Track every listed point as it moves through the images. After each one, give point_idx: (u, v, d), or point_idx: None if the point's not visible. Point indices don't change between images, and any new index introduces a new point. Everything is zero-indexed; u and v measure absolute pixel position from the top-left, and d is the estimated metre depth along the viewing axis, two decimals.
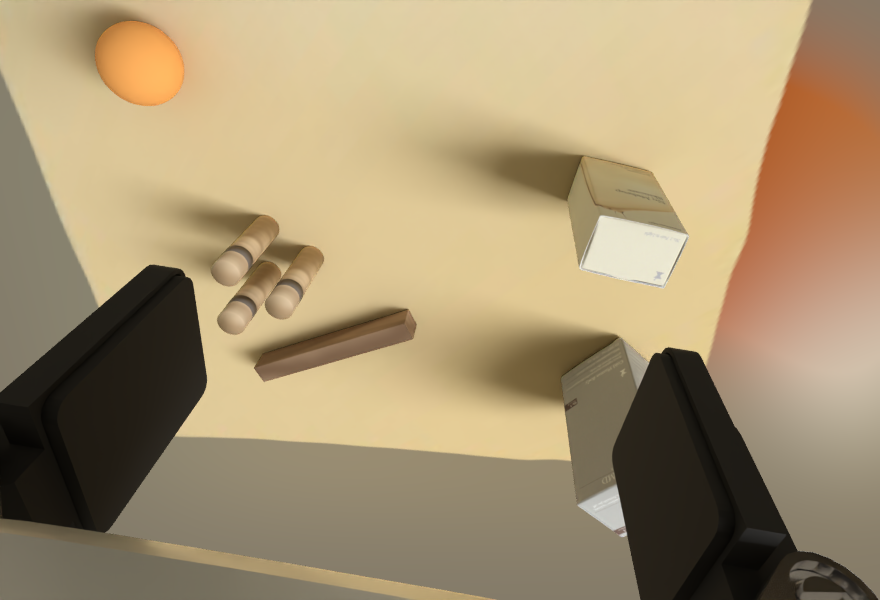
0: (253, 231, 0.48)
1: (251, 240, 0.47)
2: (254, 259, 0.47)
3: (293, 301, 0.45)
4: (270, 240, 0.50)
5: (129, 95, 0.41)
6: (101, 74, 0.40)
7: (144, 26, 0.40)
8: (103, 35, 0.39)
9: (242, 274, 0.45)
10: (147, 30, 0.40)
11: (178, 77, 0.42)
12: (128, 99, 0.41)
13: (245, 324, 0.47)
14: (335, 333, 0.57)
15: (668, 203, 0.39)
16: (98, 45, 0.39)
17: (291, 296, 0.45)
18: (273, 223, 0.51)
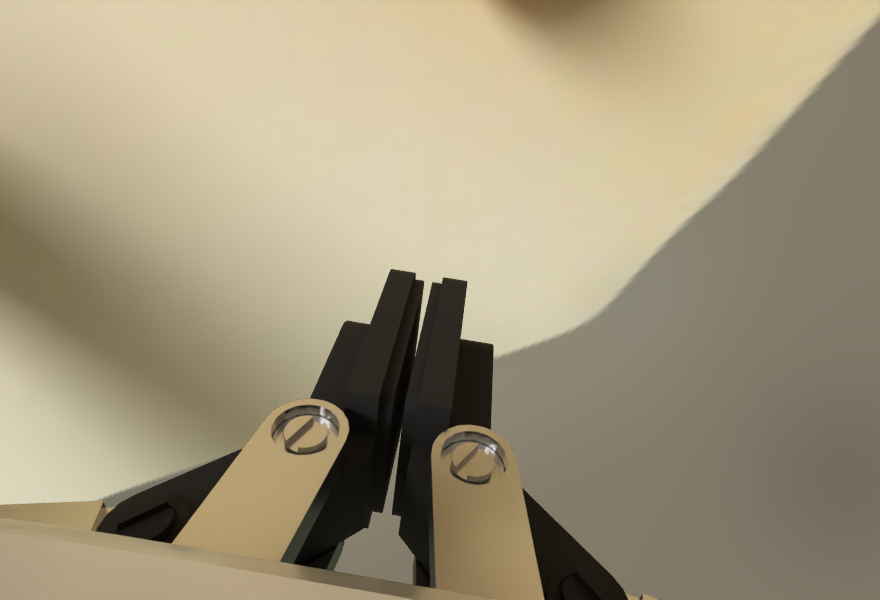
0: None
1: None
2: None
3: None
4: None
5: None
6: None
7: None
8: None
9: None
10: None
11: None
12: None
13: None
14: None
15: None
16: None
17: None
18: None
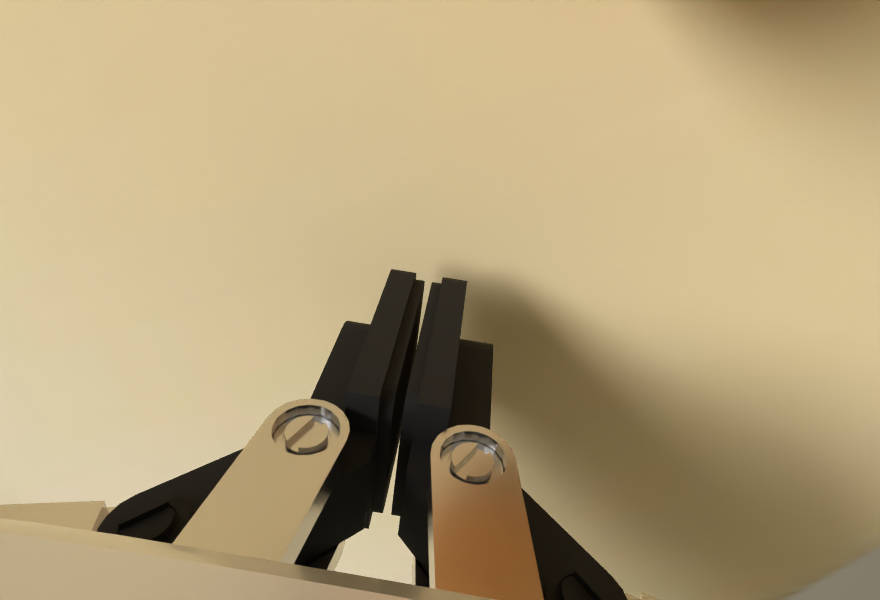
0: None
1: None
2: None
3: None
4: None
5: None
6: None
7: None
8: None
9: None
10: None
11: None
12: None
13: None
14: None
15: None
16: None
17: None
18: None
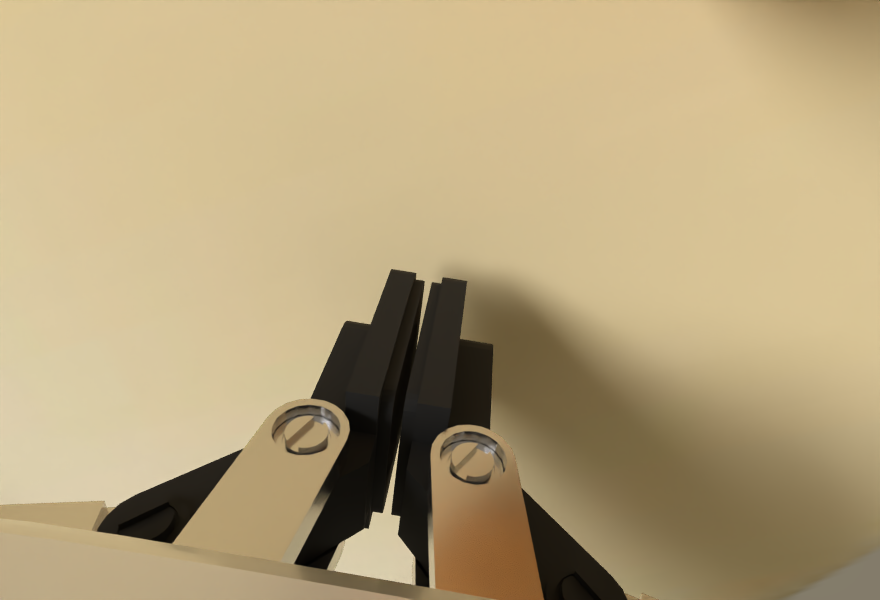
0: None
1: None
2: None
3: None
4: None
5: None
6: None
7: None
8: None
9: None
10: None
11: None
12: None
13: None
14: None
15: None
16: None
17: None
18: None
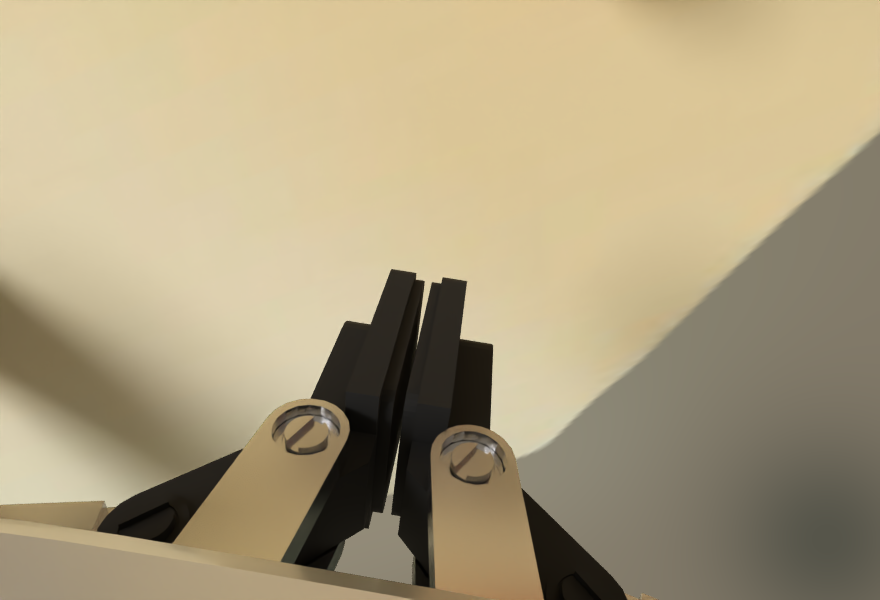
0: None
1: None
2: None
3: None
4: None
5: None
6: None
7: None
8: None
9: None
10: None
11: None
12: None
13: None
14: None
15: None
16: None
17: None
18: None
